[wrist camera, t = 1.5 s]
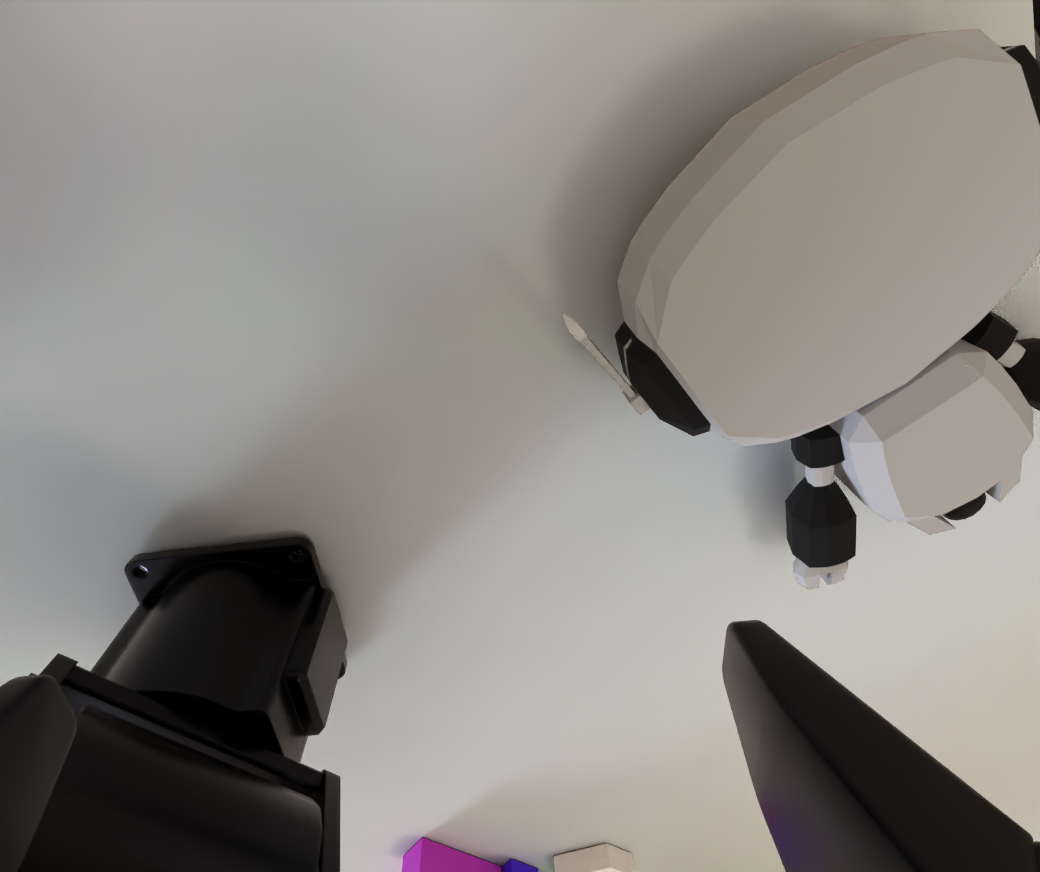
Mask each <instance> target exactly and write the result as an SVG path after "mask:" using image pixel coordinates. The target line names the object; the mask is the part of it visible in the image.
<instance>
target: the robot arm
mask: <svg viewBox="0 0 1040 872" xmlns="http://www.w3.org/2000/svg"><path fill="white" fill-rule="evenodd" d="M294 550H300V551H302V552H303V553H304V554H303V555H299V554H297V553H295V552H294ZM139 567H142V568H144V569H146V571H143V570H141V569H140V568H139ZM125 574H126V576H127V578H128V581H129V583H130V585H131V587H132V589H133V591H134V594H135V596H136V598H137V600H138V602H139V606H138V607H137V609H136V610H135V611H134V613H133V614H132V615H131V617H130V618H129V620H128V621H127V622H126V624H125V625H124V626H123V628H122V629H121V630H120V632H119V633H118V635H117V636H116V637H115V639H114V640H113V641H112V643H111V644H110V646H109V647H108V648H107V650H106V651H105V652H104V654H103V655H102V656H101V658H100V659H99V661H98V662H97V663H96V665H95V666H94V667H93V669H92V670H91V672H90V671H88V670H86V669H83V668H81V667H79V666H76V664H77V663H78V662H77V661H75V660H73V659H70V658H68V657H66V656H63V655H61V654H59V653H58V654H57V655H56V656H55V658H54V659H53V660H52V661H51V662H50V663H49V664H48V665H47V667H46V668H45V669H44V670H43V671H42V672H41V673H40V675H35V674H33V673H31V674H30V675H29V676H22V677H18V678H14V679H12V680H10V681H8V682H7V683H5V684H4V685H2V686H1V687H0V872H340V776H338V775H336V774H333V773H331V772H329V771H326V770H323V771H322V772H320V771H318V770H315V769H313V768H311V767H309V766H306V765H304V764H302V763H300V762H301V758H302V755H303V751H304V748H305V744H306V741H307V737H308V736H311V735H318V734H320V732H321V731H322V730H323V729H324V727H325V725H326V721H327V718H328V714H329V710H330V706H331V702H332V699H333V695H334V691H335V687H336V684H337V680H338V679H339V678H341V677H342V676H343V675H344V673H345V670H346V666H347V660H346V656H345V649H346V646H347V638H346V634H345V630H344V627H343V623H342V620H341V616H340V612H339V609H338V605H337V602H336V598H335V595H334V592H333V591H332V590H330V589H329V588H328V587H326V586H325V583H324V579H323V576H322V572H321V569H320V565H319V562H318V558H317V555H316V551H315V548H314V546H313V544H312V543H311V542H310V541H309V540H308V539H305V538H301V537H295V538H285V539H276V540H267V541H257V542H248V543H238V544H229V545H220V546H210V547H201V548H191V549H182V550H173V551H163V552H154V553H144V554H138V555H135V556H134V557H133V558H132V559H131V560H130V561H129V562H128V564H127V565H126V567H125ZM722 672H723V679H724V684H725V688H726V691H727V695H728V698H729V702H730V705H731V709H732V712H733V716H734V719H735V723H736V726H737V730H738V733H739V737H740V741H741V744H742V748H743V751H744V755H745V758H746V762H747V765H748V769H749V772H750V776H751V779H752V782H753V786H754V789H755V792H756V796H757V799H758V802H759V804H760V807H761V810H762V812H763V815H764V818H765V820H766V823H767V825H768V828H769V830H770V833H771V835H772V838H773V840H774V843H775V845H776V848H777V850H778V853H779V855H780V858H781V860H782V863H783V865H784V868H785V870H786V872H1040V842H1037V841H1036V842H1033V838H1032V836H1031V835H1030V834H1029V833H1028V832H1027V831H1026V830H1024V829H1023V828H1022V827H1020V826H1019V825H1018V824H1017V823H1015V822H1014V821H1013V820H1012V819H1010V818H1009V817H1008V816H1007V815H1005V814H1004V813H1003V812H1002V811H1000V810H999V809H998V808H997V807H995V806H994V805H993V804H991V803H990V802H989V801H988V800H986V799H985V798H984V797H983V796H981V795H980V794H979V793H978V792H976V791H975V790H974V789H973V788H971V787H970V786H969V785H968V784H966V783H965V782H964V781H963V780H961V779H960V778H959V777H957V776H956V775H955V774H954V773H952V772H951V771H950V770H949V769H947V768H946V767H945V766H944V765H942V764H941V763H940V762H939V761H937V760H936V759H935V758H934V757H932V756H931V755H930V754H928V753H927V752H926V751H925V750H923V749H922V748H921V747H920V746H918V745H917V744H916V743H915V742H913V741H912V740H911V739H910V738H908V737H907V736H906V735H905V734H903V733H902V732H901V731H900V730H898V729H897V728H896V727H894V726H893V725H892V724H891V723H889V722H888V721H887V720H886V719H884V718H883V717H882V716H881V715H879V714H878V713H877V712H876V711H874V710H873V709H872V708H871V707H869V706H868V705H867V704H866V703H864V702H863V701H862V700H860V699H859V698H858V697H857V696H855V695H854V694H853V693H852V692H850V691H849V690H848V689H847V688H845V687H844V686H843V685H842V684H840V683H839V682H838V681H837V680H835V679H834V678H833V677H831V676H830V675H829V674H828V673H826V672H825V671H824V670H823V669H821V668H820V667H819V666H818V665H816V664H815V663H814V662H813V661H811V660H810V659H809V658H808V657H806V656H805V655H804V654H803V653H801V652H800V651H799V650H797V649H796V648H795V647H794V646H792V645H791V644H790V643H789V642H787V641H786V640H785V639H784V638H782V637H781V636H780V635H779V634H777V633H776V632H775V631H774V630H772V629H771V628H770V627H768V626H767V625H766V624H765V623H763V622H761V621H758V620H750V621H737V622H732V623H730V624H729V625H728V627H727V631H726V639H725V647H724V656H723V664H722Z"/></svg>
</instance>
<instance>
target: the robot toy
mask: <svg viewBox="0 0 1040 872" xmlns="http://www.w3.org/2000/svg"><path fill="white" fill-rule="evenodd" d="M1033 13H1034V32H1035V51H1036V59H1035V58H1034V57H1033V56H1032V54H1031V53H1030V52H1029V50H1028V49H1027V48H1026V46H1025V45H1020V46H1007V47H999V46H998V45H997V44H996V43H995V42H993V41H992V40H991V39H990V38H989V37H988V36H986V35H985V34H984V33H983V32H982V31H980V30H979V29H973V30H958V31H944V32H931V33H922V34H914V35H906V36H898V37H890V38H882V39H876V40H873V41H870V42H867V43H864V44H861V45H858V46H855V47H853V48H851V49H848V50H846V51H844V52H842V53H840V54H838V55H836V56H834V57H832V58H829V59H827V60H825V61H823V62H821V63H819V64H817V65H815V66H813V67H811V68H809V69H807V70H806V71H804V72H803V73H801V74H799V75H798V76H796V77H795V78H793V79H791V80H790V81H788V82H787V83H785V84H783V85H782V86H780V87H779V88H777V89H775V90H774V91H772V92H771V93H769V94H767V95H766V96H764V97H763V98H761V99H760V100H758V101H756V102H755V103H753V104H752V105H750V106H748V107H747V108H745V109H744V110H742V111H740V112H739V113H737V114H736V115H734V116H732V117H731V118H730V119H729V120H728V121H727V122H726V123H725V124H724V125H723V127H722V128H721V129H720V130H719V131H718V132H717V133H716V134H715V135H714V136H713V138H712V139H711V140H710V141H709V142H708V143H707V144H706V145H705V146H704V147H703V149H702V150H701V151H700V152H699V153H698V154H697V155H696V156H695V157H694V158H693V160H692V161H691V162H690V163H689V164H688V165H687V166H686V167H685V168H684V169H683V171H682V172H681V173H680V174H679V175H678V176H677V177H676V178H675V179H674V180H673V182H672V183H671V184H670V185H669V186H668V187H667V189H666V190H665V191H664V193H663V194H662V195H661V197H660V198H659V200H658V201H657V202H656V204H655V205H654V206H653V208H652V209H651V211H650V212H649V213H648V215H647V216H646V217H645V219H644V220H643V221H642V223H641V225H640V226H639V228H638V230H637V232H636V233H635V235H634V237H633V239H632V240H631V242H630V244H629V247H628V250H627V253H626V256H625V259H624V262H623V265H622V268H621V271H620V274H619V277H618V280H617V285H618V290H619V296H620V301H621V307H622V312H623V317H624V322H623V323H622V325H621V326H620V328H619V329H618V331H617V332H616V334H615V338H616V343H617V347H618V352H619V356H620V360H621V364H622V367H623V371H624V373H625V375H626V376H627V378H628V380H629V381H630V383H631V384H632V385H631V386H629V384H628V383H627V382H626V381H625V380H624V378H623V377H622V376H621V375H620V374H619V373H618V371H617V370H616V369H615V368H614V367H613V366H612V364H611V363H610V362H609V361H608V360H607V359H606V357H605V356H604V355H603V354H602V353H601V352H600V350H599V349H598V348H597V347H596V346H595V345H594V343H593V342H592V341H591V340H590V339H589V337H588V336H587V334H586V332H585V331H584V329H583V328H582V327H581V325H580V324H579V323H578V322H577V321H576V320H575V318H574V317H573V316H572V315H569V314H564V313H562V318H563V322H564V324H565V326H566V327H567V329H568V330H569V331H570V333H571V334H572V335H573V336H574V337H575V338H576V339H577V341H578V342H580V341H581V342H582V344H583V345H584V346H585V347H586V348H587V349H588V350H589V352H590V353H591V354H592V355H593V356H594V357H595V359H596V360H597V361H598V362H599V363H600V364H601V365H602V367H603V368H604V369H605V370H606V371H607V372H608V373H609V375H610V376H611V377H612V378H613V379H614V380H615V381H616V383H617V384H618V385H619V386H620V387H621V388H622V389H623V394H624V395H625V397H626V398H627V400H628V401H629V403H630V404H631V405H632V406H633V407H634V409H635V410H636V411H637V412H638V413H639V414H642V413H643V412H645V411H646V410H647V409H649V408H651V409H652V410H653V411H654V413H655V414H656V415H657V416H658V418H659V419H660V420H662V421H664V422H666V423H668V424H670V425H672V426H674V427H676V428H678V429H680V430H682V431H684V432H686V433H688V434H690V435H692V436H695V435H699V434H702V433H705V432H708V431H710V432H712V433H715V434H717V435H719V436H721V437H723V438H726V439H728V440H730V441H732V442H734V443H737V444H739V445H741V446H750V445H759V444H768V443H778V442H781V441H785V440H788V439H791V449H792V451H793V454H794V456H795V458H796V460H798V461H799V462H801V463H802V464H804V465H805V477H804V478H803V480H802V481H801V482H800V483H799V484H798V485H797V486H796V487H795V489H794V490H793V491H792V493H791V494H790V495H789V497H788V498H787V499H786V500H785V504H786V526H787V540H788V542H789V545H790V548H791V551H792V554H793V555H794V556H796V557H797V558H796V560H795V561H794V563H793V568H794V574H795V576H796V579H797V582H798V584H800V585H801V586H803V587H805V588H807V589H815V588H819V583H820V575H821V577H822V578H823V579H824V580H825V581H826V583H827V585H830V584H834V583H837V582H839V581H841V580H843V579H844V576H845V574H846V571H847V568H848V560H849V559H851V558H852V557H854V556H855V551H856V514H855V512H854V510H853V508H852V506H851V504H850V503H849V501H848V499H847V498H846V496H845V495H844V493H843V491H842V490H841V488H840V487H839V485H838V484H837V483H836V482H835V480H834V474H835V475H836V476H837V477H838V478H839V479H840V480H841V481H842V482H843V483H844V484H845V485H846V486H847V487H848V488H849V489H850V490H851V491H852V492H853V493H854V494H855V495H856V496H857V497H858V498H859V499H860V500H861V501H862V502H863V503H864V504H865V505H866V506H867V507H868V508H869V509H870V510H871V511H873V512H874V513H876V514H878V515H879V516H881V517H883V518H884V519H886V520H888V521H890V522H907V523H909V524H911V525H912V526H914V527H916V528H918V529H920V530H922V531H924V532H926V533H927V534H929V535H931V534H935V533H939V532H943V531H948V530H952V529H956V528H955V527H954V526H953V525H951V524H950V523H949V522H948V521H947V520H946V519H944V518H943V517H942V516H941V515H943V516H945V517H946V518H948V519H951V520H962V519H966V518H968V517H971V516H973V515H974V514H975V513H977V512H978V511H979V510H980V509H981V508H982V507H983V505H984V504H985V501H986V495H985V492H986V493H988V494H989V495H991V496H992V497H993V498H995V499H996V500H997V501H999V502H1001V501H1002V499H1003V498H1004V497H1005V496H1006V495H1007V494H1008V493H1009V492H1010V491H1011V490H1012V489H1013V488H1014V486H1015V485H1016V484H1017V483H1018V482H1019V481H1020V473H1021V462H1022V456H1023V454H1024V453H1025V451H1026V450H1027V448H1028V447H1029V445H1030V444H1031V442H1032V440H1033V410H1032V408H1031V407H1033V408H1035V409H1037V410H1039V411H1040V339H1037V338H1031V339H1022V340H1017V341H1014V339H1015V337H1016V335H1017V333H1018V330H1016V329H1015V328H1014V327H1013V326H1012V325H1011V324H1009V323H1008V322H1007V321H1006V320H1005V319H1003V318H1001V317H1000V316H998V315H996V314H994V313H993V312H991V310H992V309H993V308H994V307H995V306H996V305H997V304H998V303H999V302H1000V301H1001V300H1002V299H1003V298H1004V297H1005V296H1006V295H1007V293H1008V292H1009V291H1010V290H1011V289H1012V288H1013V287H1014V286H1015V285H1016V283H1017V282H1018V281H1019V280H1020V279H1021V278H1022V276H1023V275H1024V274H1025V273H1026V272H1027V271H1028V270H1029V268H1030V267H1031V266H1032V264H1033V262H1034V261H1035V259H1036V257H1037V255H1038V253H1039V251H1040V0H1033ZM1030 406H1031V407H1030Z"/></svg>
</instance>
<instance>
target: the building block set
mask: <svg viewBox="0 0 1040 872" xmlns="http://www.w3.org/2000/svg"><path fill="white" fill-rule="evenodd" d="M553 859H554V869H555V872H635V867H634V863H633V858H632V854H631V853H629V852H627V851H624V850H622V849H619V848H617V847H614V846H612V845H609V844H607V843H606V844H602V845H598V846H594V847H589V848H585V849H581V850H577V851H573V852H569V853H565V854H561V855H556V856H553ZM402 872H538V869H537V868H534V867H531V866H529V865H526V864H523V863H521V862H518V861H516V860H513V859H511V860H510V861H508V862H507V863H506V864H505V865H504V866H503V868H501V866H498V865H496V864H493V863H490V862H487V861H485V860H482V859H479V858H477V857H474V856H471V855H468V854H466V853H463V852H460V851H458V850H455V849H452V848H449V847H447V846H444V845H441V844H439V843H436V842H433V841H431V840H428V839H425V838H421V839H420V840H419V841H418V842H417V843H416V844H415V845H414V846H413V847H412V848H411V849H410V850H409V851H408V852H407V853H406V854H405V855H404V856H403V866H402Z"/></svg>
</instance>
